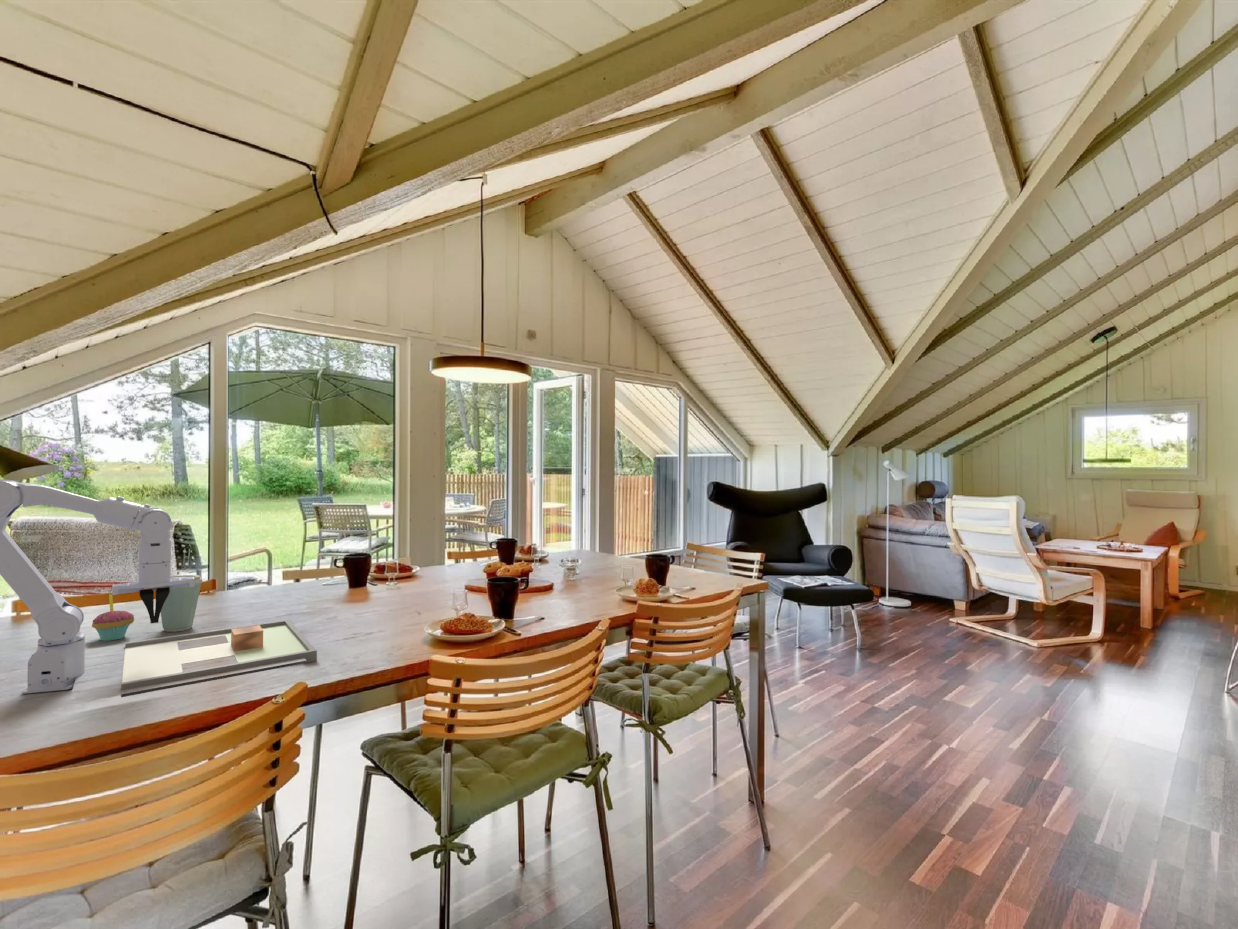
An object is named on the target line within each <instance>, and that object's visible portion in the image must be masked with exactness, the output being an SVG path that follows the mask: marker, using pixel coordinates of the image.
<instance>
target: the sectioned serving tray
mask: <svg viewBox="0 0 1238 929" xmlns="http://www.w3.org/2000/svg"><path fill="white" fill-rule="evenodd" d="M257 625H260V627H261V628H262V629H263V647H259V648H253V649H247V650H241V651H234V650H233V648H232V646H231V629H236V628H243V627H250V626H257ZM224 636H225V638H226V640H227V642H225V643H218V644H213V645H212V644H210V645H207V646H206V645H205V646H198V647H192V648H186V649H179V645H178V644H179V643H184V642H189V641H191V642H192V641H196V640H203V639H210V638H218V637H224ZM124 645H125V648H124V658H123V659H124V660H123V668H122V676H121V686H120V687H121V688H120V690H122V691H124V690H127V689H133V688H139V687H145V686H149V685H150V686H151V685H155V684H156V685H157V684H161V683H167V682H174V681H178V680H184V679H189V678H196V677H200V676H207V675H211V674H218V673H223V672H228V671H236V670H240V669H245V668H251V667H252V668H253V667H256V666H261V665H268V664H274V663H279V662H280V663H281V662H285V661H291V660H297V659H301V658H304V659H305V660H303V661H297V662H296V661H295V662H290V663H285V664H279V665H274V666H270V667H263V668H257V669H252V670H246V671H241V672H236V673H230V674H226V675H219V676H214V677H209V678H204V679H203V678H202V679H197V680H192V681H187V682H186V681H185V682H181V683H175V684H169V685H165V686H158V687H153V688H149V689H148V688H147V689H141V690H137V691H133V692H132V691H131V692H126V693H121V694H120V696H121V698H125V697H129V696H135V695H141V694H146V693H151V692H156V691H162V690H167V689H168V690H169V689H173V688H178V687H179V688H180V687H184V686H190V685H195V684H200V683H206V682H211V681H217V680H221V679H223V680H224V679H227V678H232V677H237V676H243V675H248V674H249V675H250V674H253V673H260V672H264V671H269V670H270V671H271V670H277V669H281V668H282V669H283V668H287V667H292V666H299V665H304V664H309V663H314V662H317V660H318V659H317V657H318V656H317V655H318V653H317V652H318V650H317V649H316V648H315V646H314V645H312V643H311V642H310V641H309V640H308V639H307V638H306V637H305V636H304V635H303V633H301V631H300V630H299V629H298V628H297V627H296V626H295V624H293V622H292V621H291V620H290V619H284V620H277V621H271V622H270V621H269V622H263V623H255V624H247V625H241V626H233V627H226V628H219V629H213V630H207V631H206V630H205V631H199V632H192V633H191V632H190V633H185V634H184V633H183V634H176V635H170V636H169V635H168V636H163V637H155V638H149V639H148V638H147V639H142V640H135V641H134V640H133V641H128V642H127V641H126V642H125V644H124ZM232 656H234V657H235V659H236V661H237V662H234V663H229V664H224V665H216V666H211V667H206V668H200V669H194V670H187V671H183V666H182V665H184V664H189V663H190V664H191V663H197V662H203V661H208V660H215V659H220V658H228V657H232Z"/></svg>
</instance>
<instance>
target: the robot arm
mask: <svg viewBox="0 0 1238 929" xmlns="http://www.w3.org/2000/svg"><path fill="white" fill-rule="evenodd" d="M40 505H47V506H53V507H57V508H60V509H61V508H62V509H67V510H70V511H71V510H72V511H75V512H80V513H85V514H90V515H93V516H94V518H95V520H96V521H97V523H101V524H105V525H110V526H113V527H118V528H122V529H126V530H131V531H134V530H139V531H140V542H138V581H133V582H126V583H125V582H124V583H117V584H112V590H111V591H112V592H111V595H112V596H114V595H115V596H116V595H119V594H120V595H121V594H130V593H139V597H140V599H141V601H142V602H143V604H144V605H145V607H146V610H147V613H148V616H149V620H150V621H149V622H150V624H158V623H159V620H160V617H161V609H162V607H163V605H164V602H165V600H166V599H167V597H168V595H169V593H170V589H171V588H181V587H194V577H191V578H173V579H171V576H172V575H171V574H172V571H171V570H172V569H171V567H172V566H171V564H172V560H171V559H172V558H171V557H172V542H171V540H170V538H171V531H170V530H171V528H172V526H173V522H172V517H171V515H170V514H169V513H168V512H167V511H165V510H164V509H161V508H159V507H152V508H151V504H147V503H145V504H144V505H143V504H142V505H141V504H139V503H135V502H133V501H132V502H131V501H127V500H125V497H123V496H120V495H119V496H117V497H116V498H115V497H111V496H109V497H107V498H103V499H100V500H98V499H94V498H90V497H87V496H84V495H80V494H76V493H73V492H69V491H66V490H63V489H58V488H56V487H52V486H47V485H43V484H37V483H30V482H18V481H15V480H11V479H0V577H2V578H3V580H4V581H5V582H6V583H7V585H8V586H9V587H10V588H11V589H12V590H13V591H14V593H15V594H16V595H17V596H18V598H20V600H21V601H22V603H23V604H24V605H25V606H26V607H27V608H28V610H29V613H30V614H31V617H32V620H34V622H35V623H36V625H37V628H38V630H37V631H38V636H39V637H40V638H39V639H38V640H37V649H36V651H35V652H34V653H32V655H31V656H30V657H29V658H28V661H27V688H25V689H24V690H21V694H24V695H25V694H33V693H34V694H35V693H45V692H56V691H66V690H67V691H68V690H71V689H73V688H74V686H75V683H76V680H77V677H80V676H82V675H84V674H85V672H86V671H85V668H86V667H85V666H86V664H85V662H86V660H85V657H86V656H85V655H86V654H85V652H86V646H85V645H86V638H85V637H86V634H85V633H82V632H81V631H80V630H81V625H82V624H83V622H84V619H85V617H84V616H85V615H84V612H83V610H82V609H81V608H80V607H78V606H76V605H74V604H72V603H70V602H68V601H67V600H66V599H65V597H63V596H62V595H61V594H59V593H58V592H57V591H56V590H55V589H54V587H53V586H52V585H51V584H50V583H49V582H48V580H47V579H46V578H45V577H44V575H42V573H41V572H40V570H39V569H38V568H37V567H36V566H35V565H34V563H33V562H32V561H31V560H30V558H29V557H28V556H27V555H26V553H24V551H23V550H22V549H21V547H20V546H19V545H18V544H17V543H16V542H15V540H14V539H13V538H12V537H11V536H10V534H9V533H8V532H7V531H6V528H7V526H8V525H9V523H10V520H11V519H12V515H13V514H14V513H15V512H16V511H17V510H19V508H20V507H21V506H22V507H23V508H25V507H32V506H33V507H34V506H40ZM161 586H165V587H161ZM154 591H155V592H154ZM154 594H155V596H154ZM154 597H155V598H154ZM154 599H155V601H154ZM154 602H155V605H154ZM154 606H155V609H154Z"/></svg>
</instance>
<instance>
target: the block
mask: <svg viewBox="0 0 1238 929" xmlns="http://www.w3.org/2000/svg"><path fill="white" fill-rule="evenodd" d="M231 646H232V648H233V650H234V651H241V650H247V649H253V648H259V647H263V629H262V628H261V627H260V625H257V626H250V627H243V628H236V629H231Z"/></svg>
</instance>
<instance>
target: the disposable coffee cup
mask: <svg viewBox="0 0 1238 929" xmlns="http://www.w3.org/2000/svg"><path fill="white" fill-rule="evenodd" d="M191 577H194V587H181V588H171V589H170V593H169V595H168V597H167V599H166V600H165V602H164V605H163V607H162V609H161V612H160V617H161V618H160V619H161V624H162V629H163V631H164V632H166V633H167V632H169V633H172V632H173V633H175V632H182V631H188V630H190V629H192V626H193V624H194V619H195V615H196V611H197V605H198V600H199V596H200V592H201V591H200V590H201V585H202V583H203V582H204V581H203V577H201V575H198V574H179V575H178V574H177V575H171V579H173V578H191ZM161 587H165V586H161Z"/></svg>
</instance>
